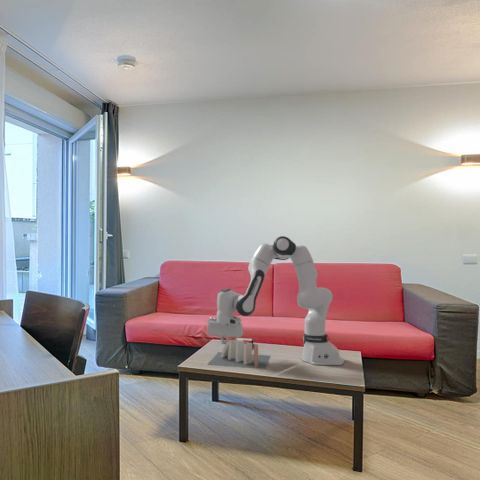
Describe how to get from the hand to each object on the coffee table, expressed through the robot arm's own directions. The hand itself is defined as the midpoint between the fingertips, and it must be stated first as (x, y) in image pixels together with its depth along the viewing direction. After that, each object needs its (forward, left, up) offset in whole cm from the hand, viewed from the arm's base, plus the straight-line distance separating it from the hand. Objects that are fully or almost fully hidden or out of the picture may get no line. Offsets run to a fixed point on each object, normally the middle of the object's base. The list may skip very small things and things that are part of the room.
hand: (224, 344), depth 209 cm
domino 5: (-19, +11, -7) cm, 23 cm away
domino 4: (-14, +8, -7) cm, 18 cm away
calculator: (-6, -23, -8) cm, 25 cm away
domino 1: (0, 0, -7) cm, 7 cm away
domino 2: (-5, +3, -7) cm, 9 cm away
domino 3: (-9, +6, -7) cm, 13 cm away
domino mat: (-9, +4, -8) cm, 13 cm away
